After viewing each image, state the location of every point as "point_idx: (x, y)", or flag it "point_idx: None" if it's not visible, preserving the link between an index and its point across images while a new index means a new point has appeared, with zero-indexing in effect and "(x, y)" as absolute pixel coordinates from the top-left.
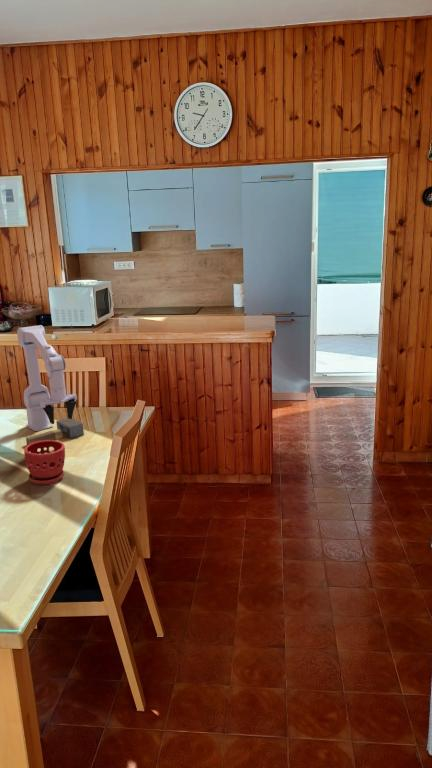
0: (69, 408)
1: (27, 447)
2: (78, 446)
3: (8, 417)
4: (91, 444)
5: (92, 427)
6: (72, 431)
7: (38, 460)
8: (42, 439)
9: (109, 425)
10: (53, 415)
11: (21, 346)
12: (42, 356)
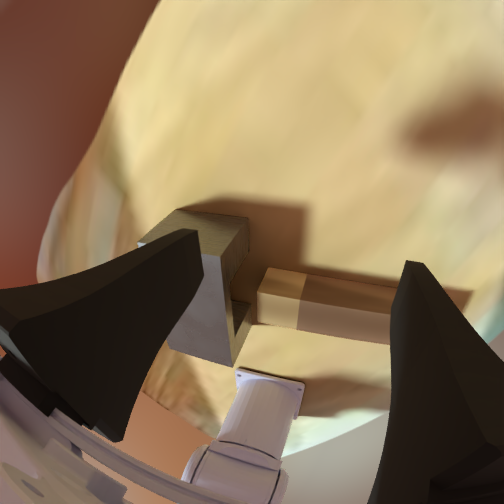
0: (120, 319)
1: None
2: (278, 74)
3: (286, 453)
4: (205, 50)
5: (122, 253)
6: (217, 235)
7: None
8: (380, 299)
9: (75, 218)
10: (440, 330)
11: None
12: None
